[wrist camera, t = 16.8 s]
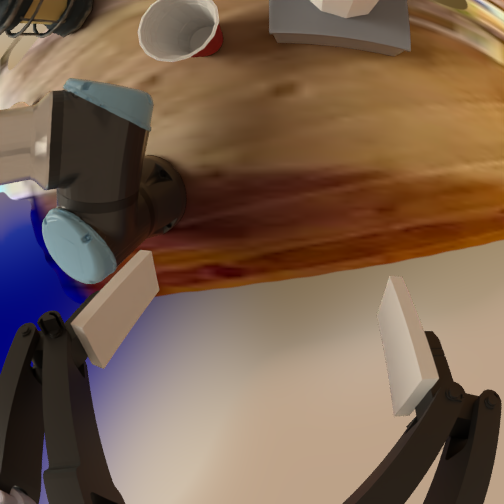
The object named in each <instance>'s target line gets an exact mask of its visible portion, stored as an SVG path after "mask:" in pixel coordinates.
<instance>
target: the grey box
mask: <svg viewBox="0 0 504 504" xmlns="http://www.w3.org/2000/svg"><path fill="white" fill-rule="evenodd" d="M269 33H270V34H273V35H274V37H275V39H276V41H277V43H300V44H316V45H327V46H336V47H344V48H351V49H358V50H364V51H370V52H375V53H380V54H385V55H389V56H396V55H398V54H400V53H401V52H403V51H407V52H410V51H411V41H410V26H409V15H408V6H407V0H379V1H378V2H377V4H376V5H375V6H374V7H373V9H372V10H371V11H370V12H369V14H366V15H360V16H355V17H350V18H344V17H340V16H337V15H334V14H330V13H327V12H323V11H321V10H320V9H319V8H317V7H316V6H315V5H314V4H313V3H312V2H311V1H310V0H269Z"/></svg>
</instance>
